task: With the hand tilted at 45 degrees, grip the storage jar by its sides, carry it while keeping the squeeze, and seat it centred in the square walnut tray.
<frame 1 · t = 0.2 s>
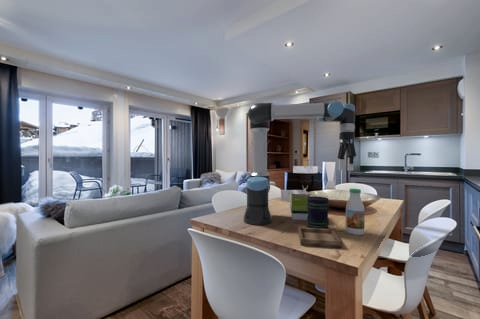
hand: (345, 170, 125), 27 cm above the table, tool pointing down, fingers open, 13 cm apart
storage jar: (317, 229, 108), on the table
tea box: (299, 217, 131), on the table
tray: (317, 239, 94), on the table
milk bottle: (354, 233, 103), on the table
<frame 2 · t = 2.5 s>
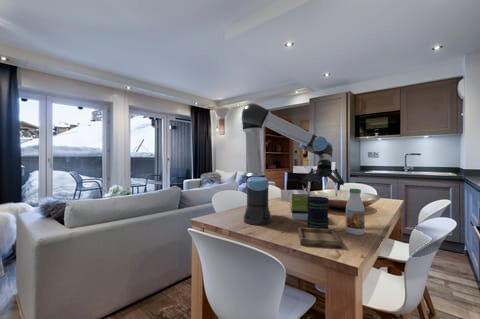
hand: (321, 193, 115), 16 cm above the table, tool tilted 45°, fingers open, 13 cm apart
nothing on the table moved.
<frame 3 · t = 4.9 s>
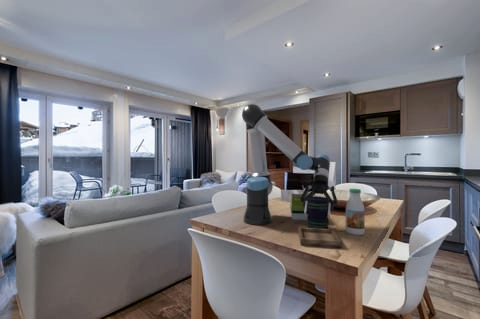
hand: (316, 215, 106), 7 cm above the table, tool tilted 45°, fingers closed on storage jar, 10 cm apart
storage jar: (317, 229, 108), on the table, touching gripper
everything else where it was.
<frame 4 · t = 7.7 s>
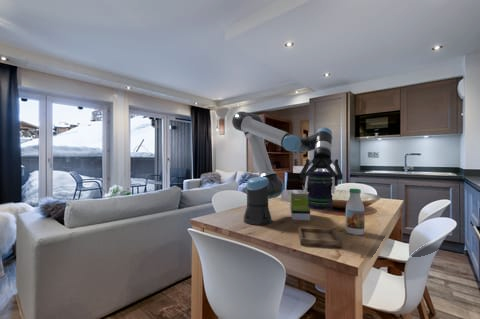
hand: (319, 190, 92), 21 cm above the table, tool tilted 45°, fingers closed on storage jar, 10 cm apart
storage jar: (319, 207, 95), point 13 cm above the table, touching gripper
everything else where it was.
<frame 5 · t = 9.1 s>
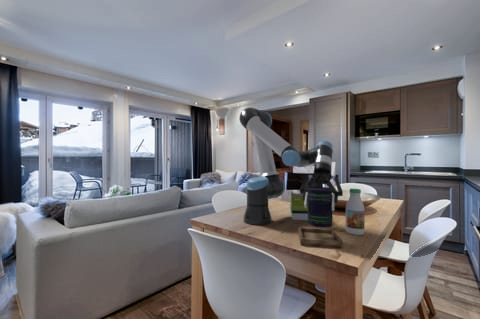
hand: (318, 207, 91), 14 cm above the table, tool tilted 45°, fingers closed on storage jar, 10 cm apart
storage jar: (319, 224, 93), point 6 cm above the table, touching gripper
everything else where it was.
when the fingers open (10 cm above the table, at t = 10.4 s): storage jar drops 1 cm, resting on tray.
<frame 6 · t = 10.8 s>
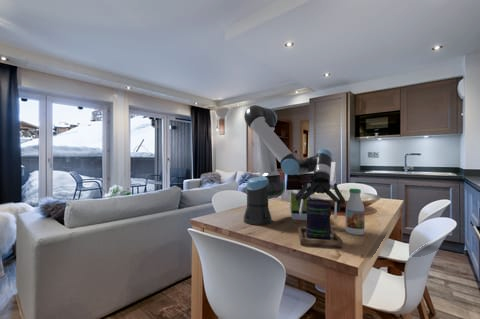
hand: (317, 215, 92), 11 cm above the table, tool tilted 45°, fingers open, 13 cm apart
storage jar: (318, 237, 94), point 1 cm above the table, touching tray
everything else where it was.
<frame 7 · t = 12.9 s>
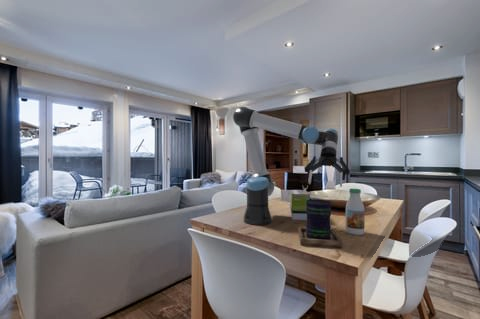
hand: (324, 183, 103), 22 cm above the table, tool tilted 45°, fingers open, 13 cm apart
nothing on the table moved.
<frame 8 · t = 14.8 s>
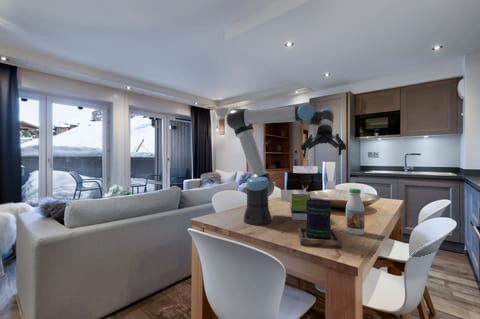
hand: (321, 159, 103), 34 cm above the table, tool tilted 45°, fingers open, 13 cm apart
nothing on the table moved.
at the end: storage jar inside the target area on the tray (0.1 cm from its centre), point 0.8 cm above the tray's base; storage jar tilted 0°; the gripper is holding nothing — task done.
